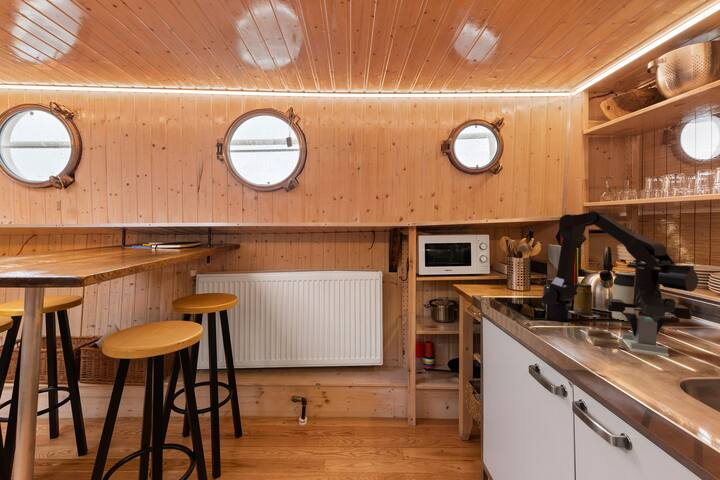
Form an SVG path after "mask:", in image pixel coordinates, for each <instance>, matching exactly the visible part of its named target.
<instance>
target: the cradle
mask: <svg viewBox="0 0 720 480" xmlns="http://www.w3.org/2000/svg"><path fill="white" fill-rule="evenodd" d="M620 338H621V340H622V341H623V342H624V343H625V345H626V346H627V347H628V348H629V350H630V351H631V352H632V353H633V352H634V353H640V354H646V355H653V356H654V355H655V356H661V357H670V354H669V348H668V347H667V346H661V345H659V344H658V343H657V340H658V339H657V338H656V346H654V345H647V344H640V343H636V341H635V340H634V339H633V338H632V333H624V332H622V333H621V337H620Z"/></svg>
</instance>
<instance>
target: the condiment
mask: <svg viewBox="0 0 720 480" xmlns="http://www.w3.org/2000/svg"><path fill="white" fill-rule="evenodd" d="M576 284H577V285H578V288H577V295H575V297H574V299H573V310H568V313H572V314H575V315H577V316H578V315H579V316H582V317H585V318H591V317H592V318H596V317H600V315H599V314H594V313H592V311H593V309H592V308H593V291H592V290H593V288H592V287H593V285H591V284H589V283H584V282H583V283H582V282H580V283H579V282H578V283H576ZM591 313H592V314H593V316H591Z"/></svg>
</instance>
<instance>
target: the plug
mask: <svg viewBox="0 0 720 480" xmlns="http://www.w3.org/2000/svg"><path fill="white" fill-rule="evenodd" d="M631 334H632V338H633V339H634V340H635V341H636V343H640V344H647V345H654V346H656V343H657V341H656V339H657V337H658V336H657V335H658V334H657V322H656V321H655V320H653V317H651V316H644V315H639V316H636V336H634V335H633V333H632V332H631Z"/></svg>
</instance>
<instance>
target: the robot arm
mask: <svg viewBox="0 0 720 480" xmlns="http://www.w3.org/2000/svg"><path fill="white" fill-rule="evenodd" d="M591 226H596V227H597V228H599V229H600V230H602V232H604V233H606V234H607V235H609V237H612V238H613V239H614V240H616V241H618V242H619V243H621V244H622V245H623V246H624V248H625V250H626V251H627V253H628V254H629V255H631V256H632V258H633V259H634V260H633V261H631V262H630V263H628V264H627V265H626V267H627V268H631V269H634V272H635V282H634V287H633V289H634V298H633V304H631V303H624V302H623V301H622V300H619V299H613V298H609V297H608V298H606V299H605V301H604V307H605V309H607V311H609V312H612V311H614V312H621V313H622V314H623V315H625V316H626V318H627V320H628V325H629V327H630V330H631V334H632V333H633V335H634V336H636V316H637V315H636V314H635V313H634V310H638V311H639V312H641V313H642V314H643V315H647V316H651V315H652V319H653V320H655V321H656V322H657V335H658V333H659V332H660V330H661V329H662V327H663V326H664V324H665V323H667V322H668V321H674V318H673V317H672V316H675V318H676V319H682V320H692V317H693V312H692V311H691V309H690V308H688V307H686V306H685V305H682V304H676V300H675V298H662V290H661V286H662V287H663V288H665V289H671V290H679V291H684V292H690V293H691V292H694V291H695V290H696V289H697V288H698V284H699V277H698V274H697V272H696V271H695V266H694V265H689V264H688V265H680V264H677V263H676V262H674V260H673V259H672V258H671V256H670V255H669V254H668V252H667V247H666V246H665V244H663V243H661V242H659V241H658V240H655V239H652V238H650V237H647V236H643V235H640V234H638V233H636V232H635V231H633V230H631V229H630V228H628V227H626V226H625V225H623V223H622V224H621V223H620V222H619V221H617V220H615V219H614V218H613V217H611V216H609V215H608V214H606V212H604V211H600V210H599V211H598V210H597V211H594V210H593V211H590V212H585V213H580V214H570V213H569V214H568V213H567V214H564V215H562V216H561V217H560V218H559V222H558V230H559V233H560V237H561V244H560V249H559V250H560V252H559V258H558V264H557V269H556V275H555V278H553V279H554V280H553V282H552V283H551V285H550V288H549V291H548V293H546V294H545V295H544V296H543V295H542V297H541V300H542V301H541V302H543V303H544V304H546V307H545V316H544V317H545V320H546V321H548V322H557V323H565V324H566V323H567V321H568V319H569V318H568V317H569V315H568V314H569V309H568V307H567V305H570V304H571V303H572V300H574V297H575V295H577V288H578V285H577V283H575V282H574V280H573V274H574V270H575V263H576V256H577V251H578V243H579V240H580V239H581V237H582V236H583V235H584V233H585V231H586V228H587V227H591Z"/></svg>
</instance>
